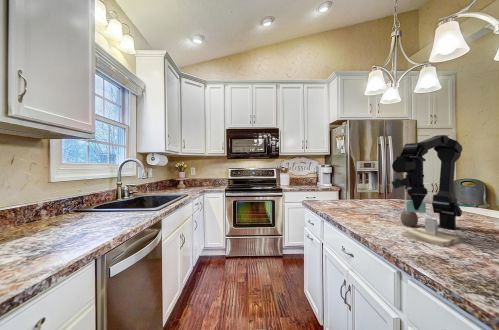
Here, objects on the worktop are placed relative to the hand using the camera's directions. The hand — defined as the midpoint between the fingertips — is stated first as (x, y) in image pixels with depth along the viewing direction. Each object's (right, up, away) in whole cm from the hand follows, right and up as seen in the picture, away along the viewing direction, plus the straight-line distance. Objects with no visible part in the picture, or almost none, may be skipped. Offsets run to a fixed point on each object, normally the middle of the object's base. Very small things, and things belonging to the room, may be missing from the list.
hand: (415, 208), depth 93 cm
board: (+3, -11, -5) cm, 12 cm away
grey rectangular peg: (+3, -9, -5) cm, 11 cm away
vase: (+6, -11, +12) cm, 18 cm away
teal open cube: (0, -1, 0) cm, 1 cm away
